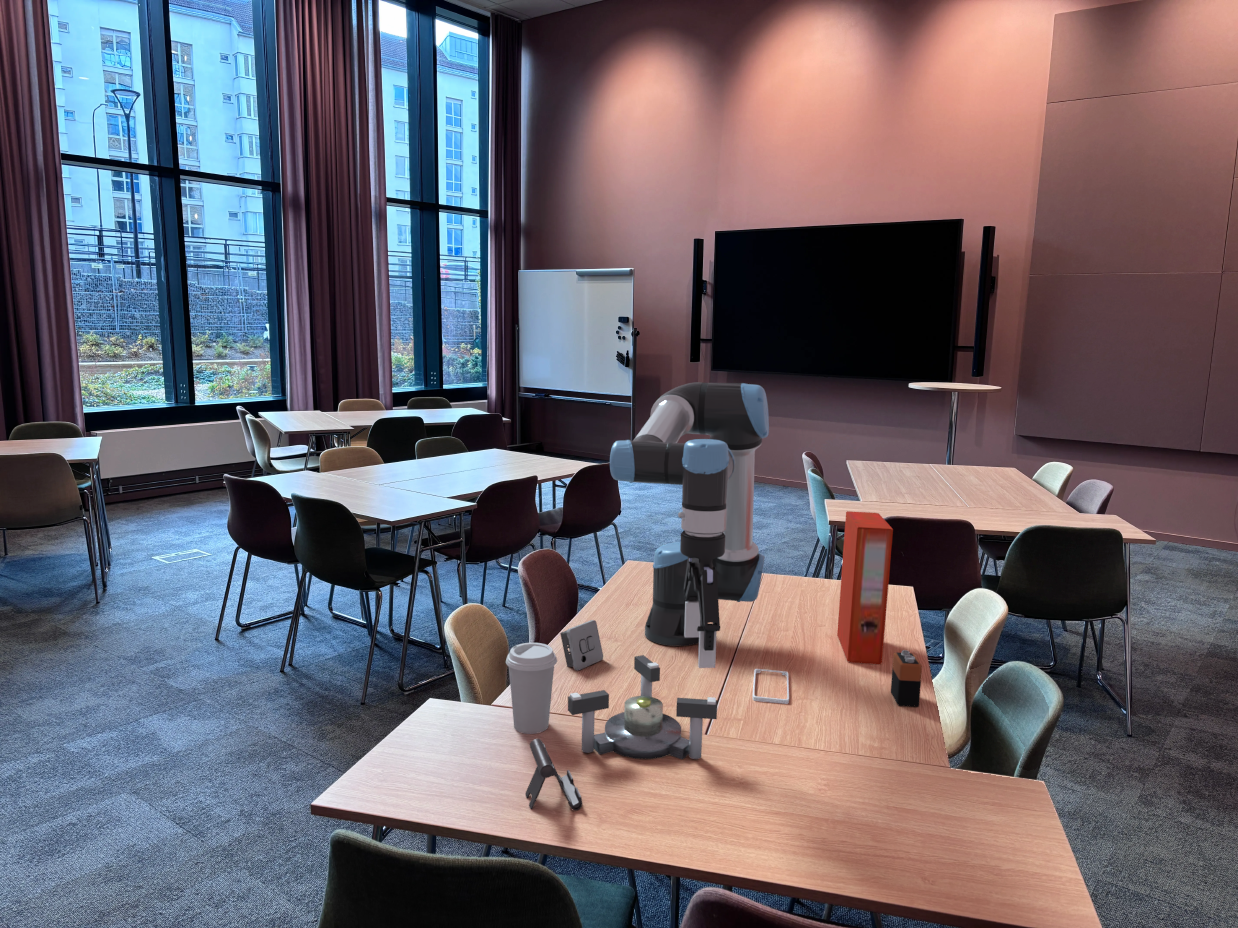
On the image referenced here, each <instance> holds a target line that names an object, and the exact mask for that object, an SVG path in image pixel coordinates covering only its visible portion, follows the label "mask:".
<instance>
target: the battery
mask: <svg viewBox="0 0 1238 928" xmlns="http://www.w3.org/2000/svg"><path fill="white" fill-rule="evenodd" d="M892 655H893V657H892V666H891V668H892V670H891V671H892V672H891V683H890V693H891V695H892V697H893V699H894V701H895V702H896V704H897V706H898V707H914V708H918V707H919V706H920V700H921V699H920V698H921V697H920V696H921V685H922V676H923V675H922V674H923V673H922V672H923V671H922V670H923V665H922V663H921V662H920V661H919V659H918V657H917V655H916V654H915V653H912V652H910V650H908V649H907V650H906V649H903V650H901V652H893V654H892Z"/></svg>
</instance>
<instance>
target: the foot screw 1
mask: <svg viewBox="0 0 1238 928" xmlns="http://www.w3.org/2000/svg"><path fill="white" fill-rule="evenodd" d="M609 708H610V694H609V693H608V692H607V691H606V690H605V689H603V690H596V691H592V692H586V693H578V692H573V693H572V692H571V693H569V696H567V711H568V712H569V714H571V716H574V715H580V714H581V751H582V752H583V753H587V754H588V753H592V752H594V751H595V749H594V735H595V712H597V711H601V710H602V711H603V710H606V709H609Z"/></svg>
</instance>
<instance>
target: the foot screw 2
mask: <svg viewBox="0 0 1238 928" xmlns="http://www.w3.org/2000/svg"><path fill="white" fill-rule="evenodd" d="M633 657H634V660H633V661H634V662H633V664H634V665H633V666H634V667H633V668H634V670H635V671H636V672H637V673H638V674H640V696H650V697H653V695H652V694H653V683H655V682H660V681H661V677H660V676H661V667H660V665H659V664H658V663H657V662H653V661H652V660H651V659H649V658H648V657H647V656H645V655H644V654H642V655H636V656H635V655H634V656H633Z"/></svg>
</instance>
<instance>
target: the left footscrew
mask: <svg viewBox="0 0 1238 928" xmlns="http://www.w3.org/2000/svg"><path fill="white" fill-rule="evenodd" d="M675 710H676V713H675V714H676V715H675V716H676V717H679V718H689V738H688V740H689V755H688V757H689V758H690V759H692V760H699V759H701V758H702V752H703V751H702V749H703V748H702V747H703V746H702V745H703V726H704V725H703V723H704V722H703V721H704V719H705V720H706V719H710V720H718V700H716V697H711V696H709V697H707V699H705V698H703V699H701V698H691V697H690V698H689V697H676V709H675Z"/></svg>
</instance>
